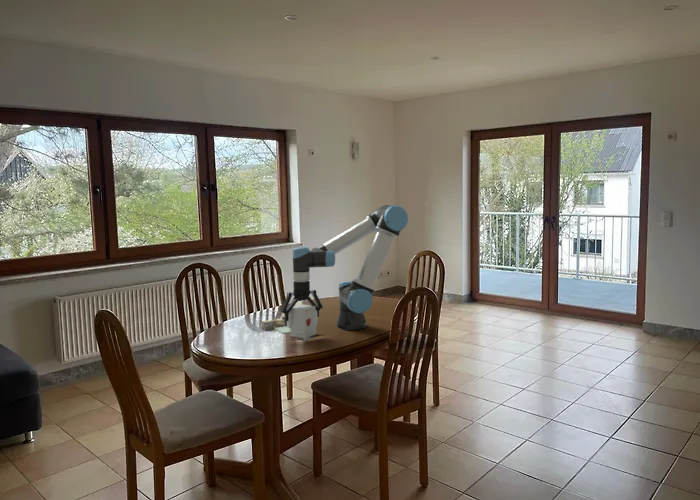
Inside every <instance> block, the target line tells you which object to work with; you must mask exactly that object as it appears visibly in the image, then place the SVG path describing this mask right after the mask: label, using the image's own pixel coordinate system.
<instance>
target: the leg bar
mask: <svg viewBox="0 0 700 500" xmlns="http://www.w3.org/2000/svg"><path fill="white" fill-rule="evenodd" d="M267 321H273V329H274V328H277V327H283V326H287V321H286V320H285V315H283V316H281V318H275V319H270V320H261V329H263V330H264V322H267Z"/></svg>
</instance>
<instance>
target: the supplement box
mask: <svg viewBox="0 0 700 500" xmlns="http://www.w3.org/2000/svg"><path fill="white" fill-rule="evenodd" d="M289 314H290V318H291V328H290V333H289V334H290V335H289V336H290V337H292V338H293V337H294V338H297V339H296V341H303V342H306V341H309V340H312V339H314V338H316V337H317V324H316V310H315V306H312V305H311V304H310V305H309V304H301V303H300V304H298V305H294V307H293V308H292V309H291V311H290V312H289Z"/></svg>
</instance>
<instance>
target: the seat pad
mask: <svg viewBox="0 0 700 500" xmlns="http://www.w3.org/2000/svg"><path fill="white" fill-rule="evenodd" d="M273 330H275V331H276V332H278V333H280V334H282V335H284V334H290V328H288V327H287V326H283V327H277V328H273Z"/></svg>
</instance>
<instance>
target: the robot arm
mask: <svg viewBox="0 0 700 500" xmlns="http://www.w3.org/2000/svg"><path fill="white" fill-rule="evenodd" d="M408 222H409V216H408V213H407V211H406V210H405V208H404V207H402V206H400V205H397V204H385V205H382V206H380V207H379V208H377V209H375V210H373V212H371V213H369V214H367V215H366V216H365V218H364V219H363V220H362V221H360V222H358V223H356V224H355V225H353V226H351V227H350V228H348V229H346V230H344V231H343V232H341V233H339V234H338V235H336V236H334V237H333V238H331V239H329V240H328V241H325V242H324V243H323V244H320V245H319V246H317V247H313V248H311V249H310V248H309V247H306V246H298V247H294V248H293V249H292V274H293V275H292V276H293V284H292V285H293V292H290V291H287V292H286V293H287V294H286V297H285V299H284V302H283V305H282V307H281V309H280V313H283V314H284V316H285V320H286V321H287V327H288V328H291V318H290V311H291V309H292V308H293V307H294V306H296V304H297V303H298V302H303V301H305V302H306V301H307V302H308V303H309V304H310V305H312V306H315V310H316V325H318V318H319V316H320V311H321V309H323V308H324V307H323V305H322V303H321V301H320V299H319V295H317V290H316V289H311V285H310V282H311V281H310V279H311V278H310V269H311V268H329V267H330V268H332V267H334V266H335V264H336V255H337V254H338V253H340V252H342V251H344V250H345V249H347V248H348V247H350V246H352V245H354V244H355V243H357V242H359V241H360V240H362V239H364V238H365V237H367V236H369V235H371V234H372V233H376V234H375V236H374V237H373V241H372V243H371V245H370V247H369V250H368V252H367V255H366V257H365V259H364V261H363V263H362V266H361V269H360V270H359V272H358V274H357V278H355V279H352V280H348V281H340V282H339V283H338V302H339V304H338V305H339V306H338V307H339V313H338V316H337V319H336V325H335V326H336V328H338V329H339V330H344V331H356V330H362V329H363V330H364V328H365V329H366V327H367V319H366V316H365V315H364V313H366V312H368V311H369V310H370V309H371V307H372V305H373V302H374V301H373V300H374V299H373V296H374V294H375V291H376V288H375V286H374V285H375V284H376V280H377V279H378V276H379V274H380V271H381V269H382V267H383V265H384V263H385V260H386V258H387V256H388V252H389V251H390V249H391V246H392V244H393V241H394V240H395V239H398V238H399V236H400V234H401V232H402V230H403V229H405V228H406V226H407V225H408ZM310 295H312V297H313V300H314V301H313V300H312V298H311V297H310ZM291 299H292V301H291Z"/></svg>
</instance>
